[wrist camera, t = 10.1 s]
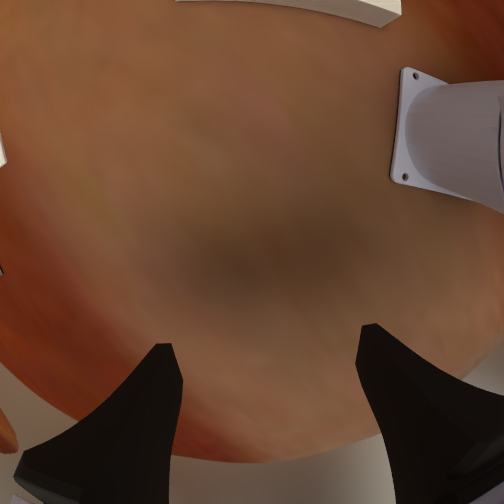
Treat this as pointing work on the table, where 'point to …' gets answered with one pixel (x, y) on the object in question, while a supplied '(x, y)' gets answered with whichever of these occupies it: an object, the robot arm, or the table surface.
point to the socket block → (344, 8)
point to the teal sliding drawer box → (2, 161)
